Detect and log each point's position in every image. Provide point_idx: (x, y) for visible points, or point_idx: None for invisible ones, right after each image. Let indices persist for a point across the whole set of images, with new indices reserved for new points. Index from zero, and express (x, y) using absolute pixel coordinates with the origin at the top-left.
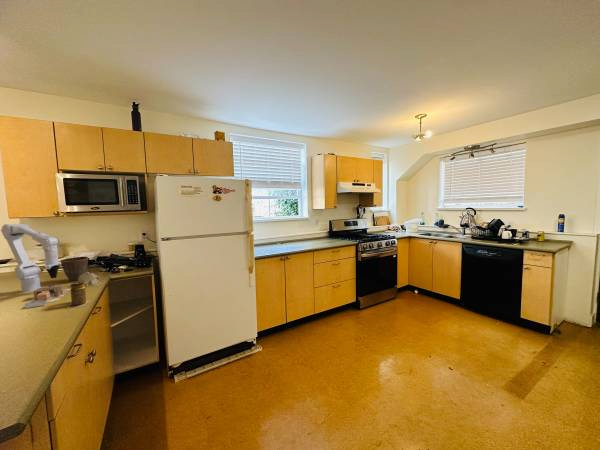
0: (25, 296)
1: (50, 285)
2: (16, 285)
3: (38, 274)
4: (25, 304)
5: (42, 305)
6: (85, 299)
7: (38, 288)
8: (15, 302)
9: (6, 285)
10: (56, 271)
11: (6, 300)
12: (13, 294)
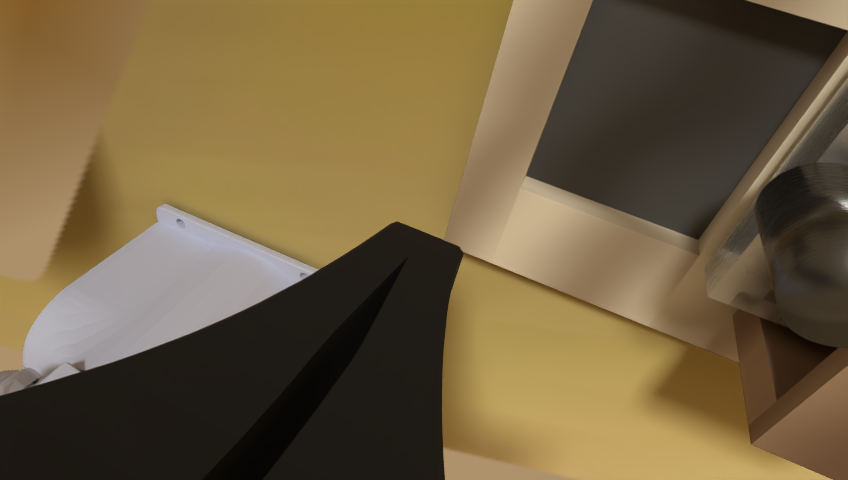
0: (446, 355)
1: (806, 307)
2: (18, 313)
3: (31, 377)
4: None
5: None
6: None
7: (771, 450)
8: (651, 450)
9: (7, 344)
10: (365, 411)
11: (472, 451)
12: None
